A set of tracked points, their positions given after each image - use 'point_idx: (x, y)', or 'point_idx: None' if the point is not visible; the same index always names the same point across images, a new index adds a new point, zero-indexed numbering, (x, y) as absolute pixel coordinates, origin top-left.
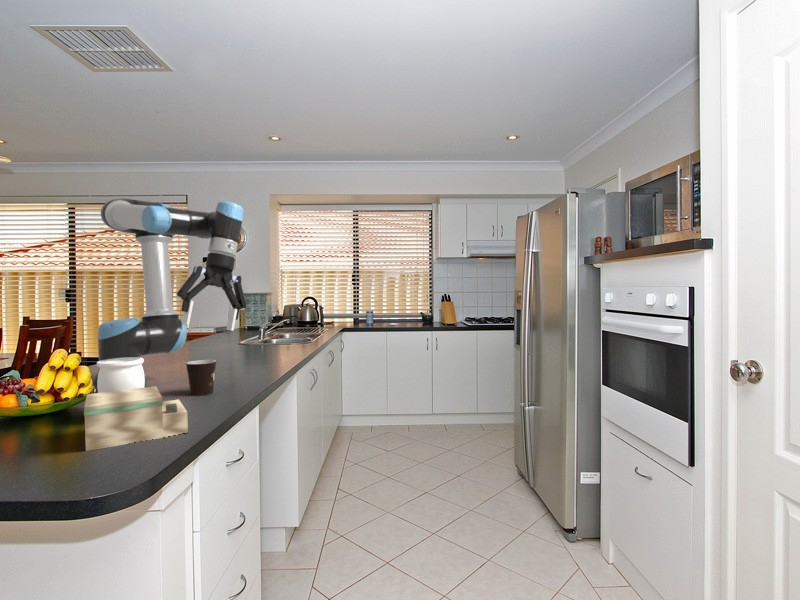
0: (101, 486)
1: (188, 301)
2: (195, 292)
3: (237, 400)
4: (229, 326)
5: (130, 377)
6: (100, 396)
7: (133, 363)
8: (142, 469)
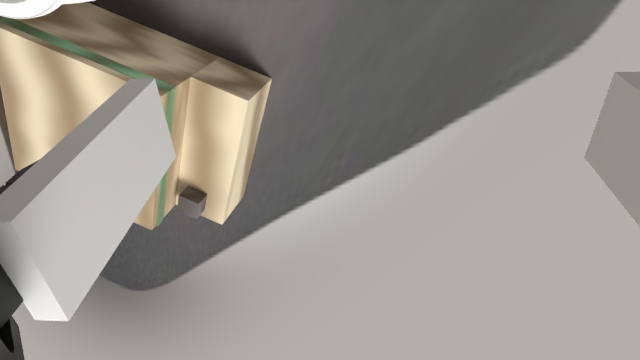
0: (109, 263)
1: (15, 289)
2: None
3: (528, 28)
4: (617, 138)
5: (73, 3)
6: (28, 91)
7: (39, 15)
8: (151, 262)
